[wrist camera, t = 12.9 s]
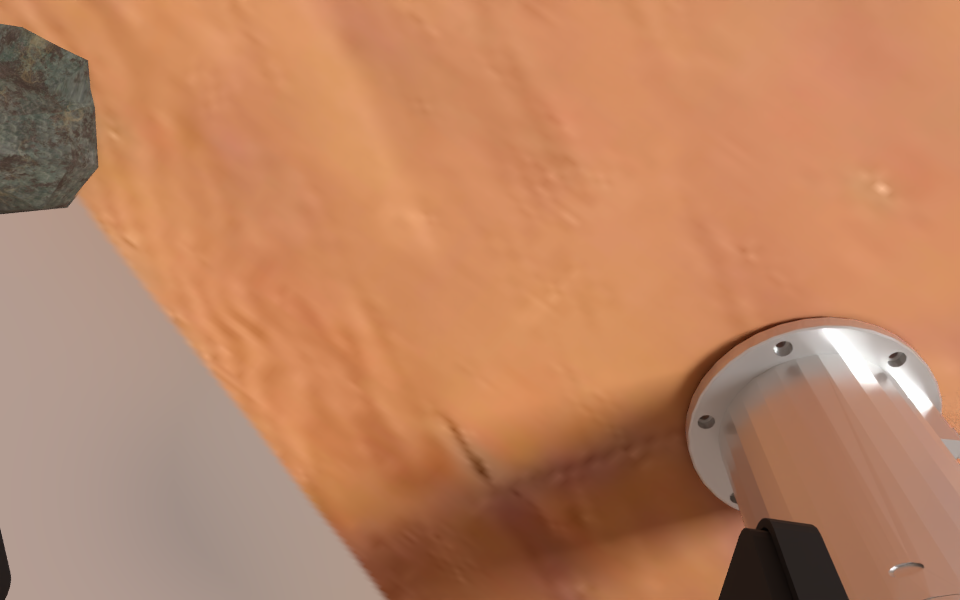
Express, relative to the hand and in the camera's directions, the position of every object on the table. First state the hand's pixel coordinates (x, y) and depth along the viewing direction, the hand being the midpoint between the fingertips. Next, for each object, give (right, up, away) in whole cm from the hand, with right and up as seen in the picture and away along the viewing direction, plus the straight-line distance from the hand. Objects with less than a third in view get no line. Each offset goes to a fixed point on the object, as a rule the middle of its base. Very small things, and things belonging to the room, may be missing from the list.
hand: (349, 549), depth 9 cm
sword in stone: (-20, +11, +27) cm, 35 cm away
